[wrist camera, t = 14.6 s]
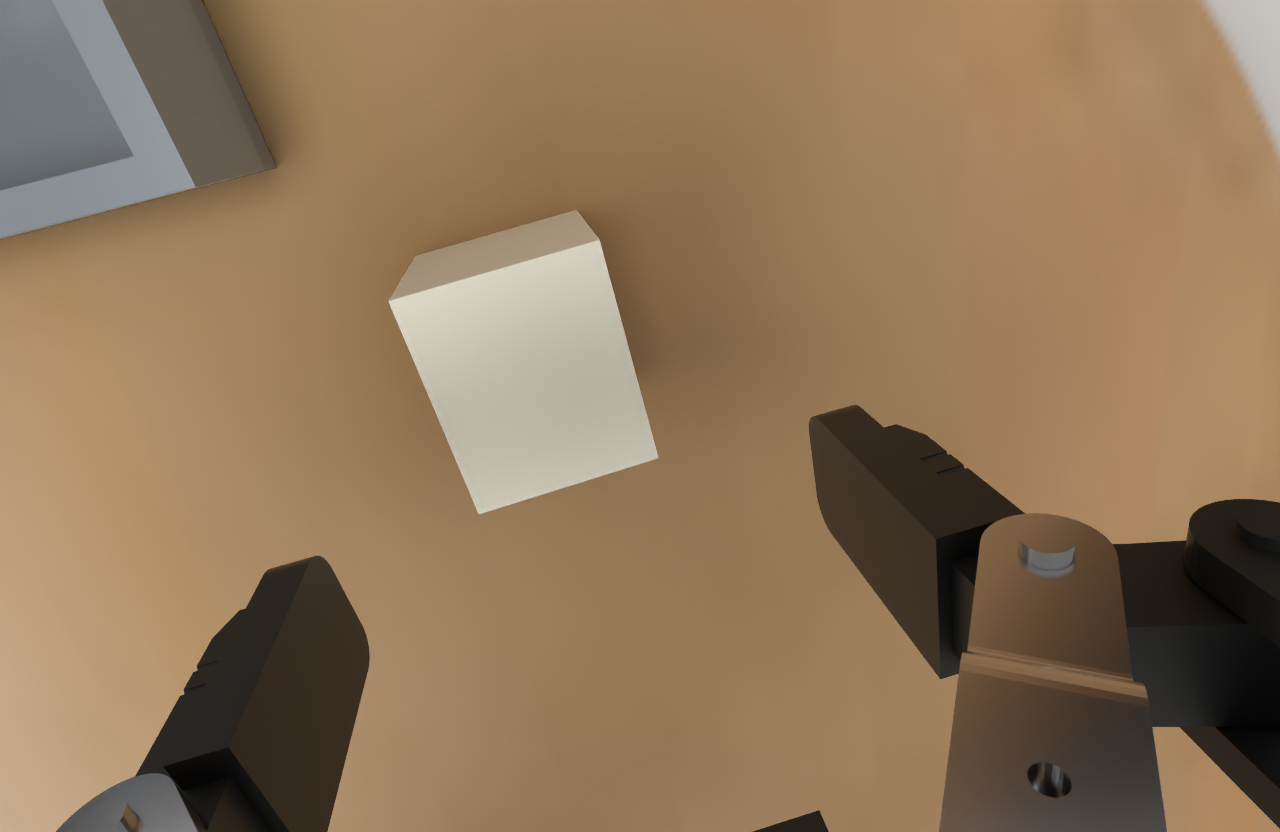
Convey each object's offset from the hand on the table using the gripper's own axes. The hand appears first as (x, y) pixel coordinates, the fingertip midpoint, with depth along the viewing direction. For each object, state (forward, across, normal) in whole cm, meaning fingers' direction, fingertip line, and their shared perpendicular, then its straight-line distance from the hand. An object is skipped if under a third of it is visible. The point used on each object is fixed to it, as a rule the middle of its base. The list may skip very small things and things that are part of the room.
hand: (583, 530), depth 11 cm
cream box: (+12, +1, 0) cm, 12 cm away
